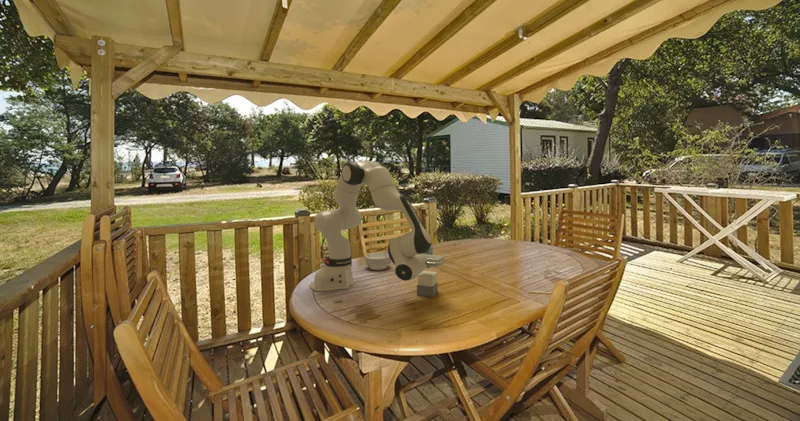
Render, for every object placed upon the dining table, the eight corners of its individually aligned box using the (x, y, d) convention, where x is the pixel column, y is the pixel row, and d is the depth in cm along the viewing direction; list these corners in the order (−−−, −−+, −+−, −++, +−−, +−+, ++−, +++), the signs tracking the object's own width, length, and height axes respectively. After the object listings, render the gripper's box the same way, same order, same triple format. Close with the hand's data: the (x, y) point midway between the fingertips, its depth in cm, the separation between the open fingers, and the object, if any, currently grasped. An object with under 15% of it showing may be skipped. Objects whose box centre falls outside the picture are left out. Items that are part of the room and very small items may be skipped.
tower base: (433, 297, 169) (433, 287, 168) (416, 295, 172) (416, 285, 171) (437, 291, 176) (437, 281, 176) (421, 289, 179) (421, 280, 178)
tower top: (432, 286, 168) (432, 276, 168) (418, 284, 171) (418, 274, 171) (437, 282, 175) (437, 272, 174) (423, 280, 178) (423, 270, 177)
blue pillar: (429, 268, 167) (429, 248, 166) (418, 266, 169) (419, 247, 168) (432, 265, 172) (432, 246, 171) (422, 264, 174) (422, 245, 172)
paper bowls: (361, 266, 220) (361, 253, 219) (385, 263, 226) (385, 251, 225) (370, 273, 206) (370, 259, 205) (395, 269, 213) (395, 256, 212)
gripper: (439, 257, 154) (448, 250, 166) (395, 253, 161) (406, 246, 174) (439, 272, 154) (447, 263, 167) (395, 267, 162) (406, 259, 175)
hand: (426, 255), depth 171 cm, fingers closed on blue pillar, 5 cm apart
